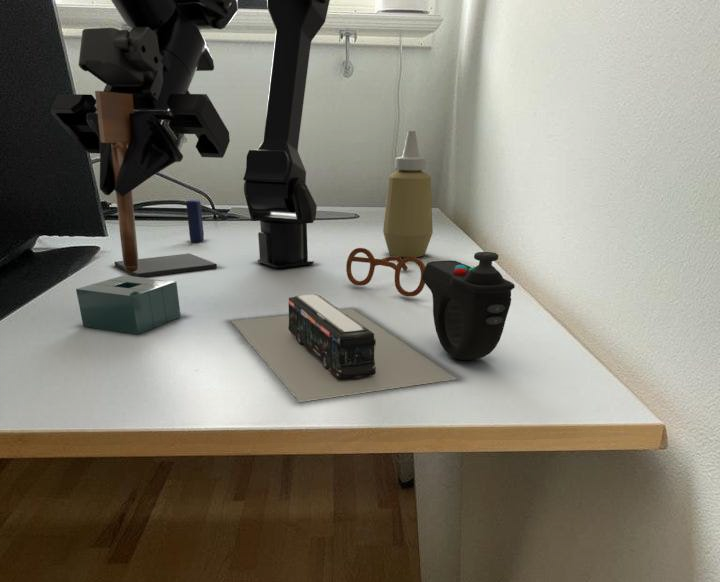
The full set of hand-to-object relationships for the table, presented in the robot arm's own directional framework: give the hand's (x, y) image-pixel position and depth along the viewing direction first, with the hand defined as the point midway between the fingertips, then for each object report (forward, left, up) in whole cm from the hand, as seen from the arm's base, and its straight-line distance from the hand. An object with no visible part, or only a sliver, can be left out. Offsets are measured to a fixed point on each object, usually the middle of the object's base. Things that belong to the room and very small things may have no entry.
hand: (111, 192), depth 67 cm
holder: (0, 0, -13) cm, 13 cm away
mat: (-14, -26, -13) cm, 33 cm away
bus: (-13, +20, -13) cm, 27 cm away
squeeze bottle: (-50, -13, -13) cm, 54 cm away
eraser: (-27, -44, -13) cm, 53 cm away
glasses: (-37, +4, -13) cm, 40 cm away
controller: (-22, +29, -13) cm, 39 cm away
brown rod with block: (-1, -1, -8) cm, 8 cm away
